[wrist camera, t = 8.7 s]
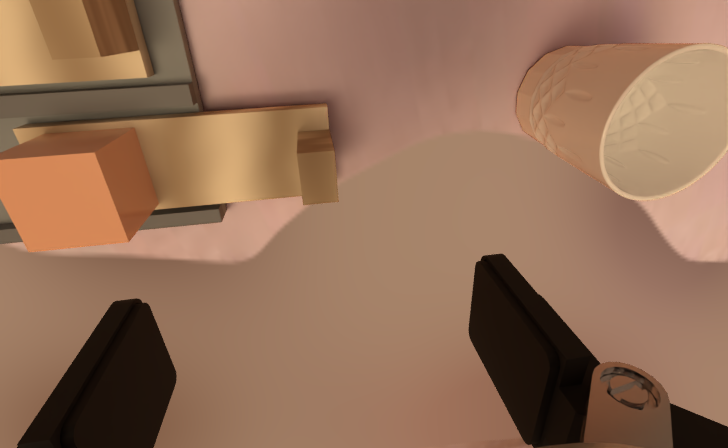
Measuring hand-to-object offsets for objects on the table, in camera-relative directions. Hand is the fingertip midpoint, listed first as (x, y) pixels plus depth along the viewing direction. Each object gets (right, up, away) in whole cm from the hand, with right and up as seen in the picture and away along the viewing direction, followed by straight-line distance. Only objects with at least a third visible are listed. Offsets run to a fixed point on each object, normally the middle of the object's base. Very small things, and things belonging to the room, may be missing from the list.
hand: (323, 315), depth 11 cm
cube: (-15, +6, +13) cm, 20 cm away
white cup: (+15, +12, +17) cm, 26 cm away
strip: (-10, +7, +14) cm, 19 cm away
